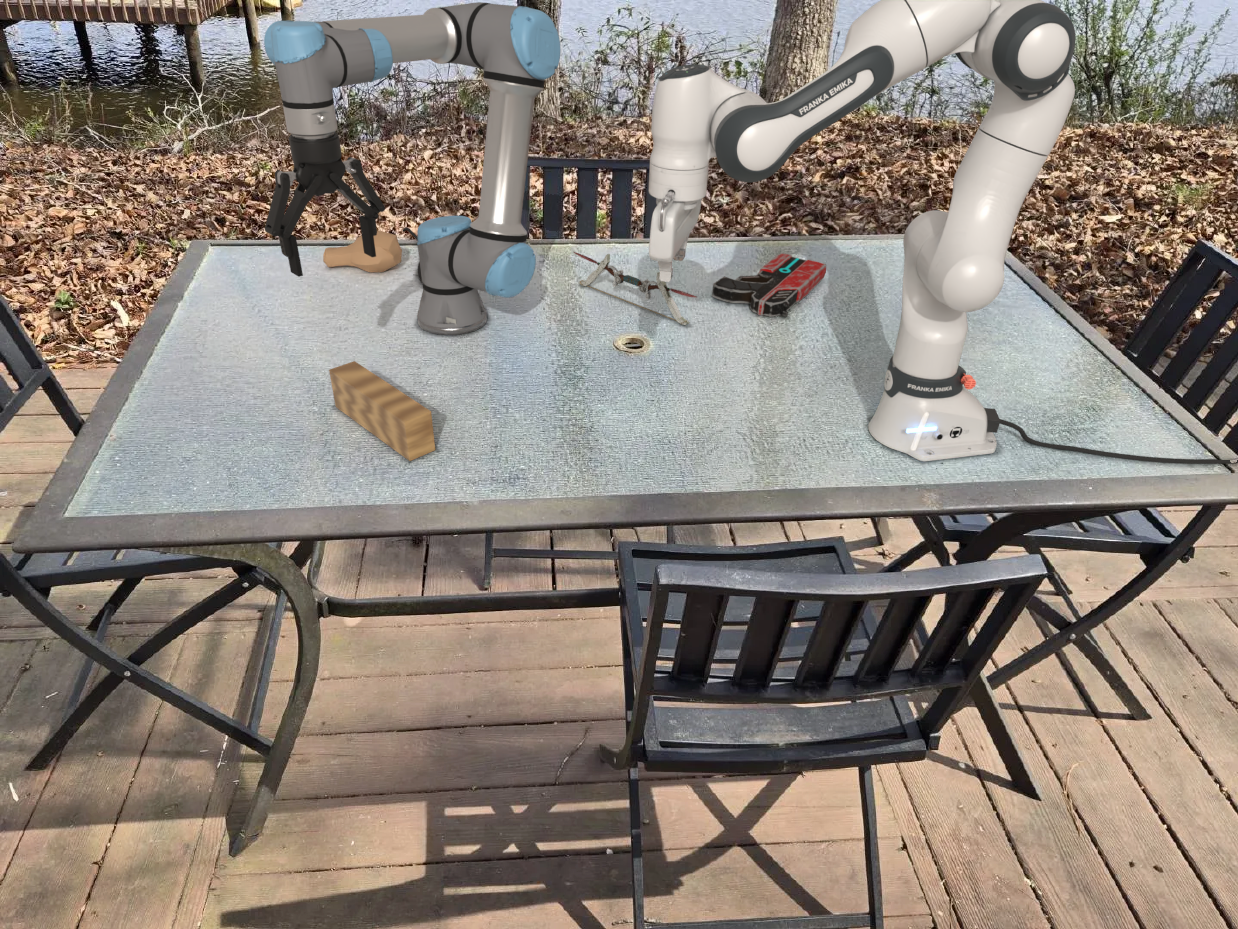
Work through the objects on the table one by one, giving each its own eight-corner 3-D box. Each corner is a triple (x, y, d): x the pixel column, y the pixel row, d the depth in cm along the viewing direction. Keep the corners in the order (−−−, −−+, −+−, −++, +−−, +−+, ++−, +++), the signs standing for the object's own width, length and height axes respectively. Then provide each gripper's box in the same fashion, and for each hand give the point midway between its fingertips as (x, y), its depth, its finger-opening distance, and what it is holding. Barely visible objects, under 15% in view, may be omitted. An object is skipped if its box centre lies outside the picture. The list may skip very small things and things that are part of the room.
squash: (402, 276, 219) (391, 244, 212) (324, 283, 220) (312, 251, 214) (409, 253, 226) (400, 222, 220) (335, 261, 228) (323, 229, 222)
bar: (335, 407, 164) (328, 369, 160) (360, 397, 168) (354, 360, 163) (409, 461, 150) (404, 421, 145) (435, 450, 153) (431, 411, 149)
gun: (708, 284, 207) (784, 305, 199) (760, 245, 229) (831, 262, 221) (706, 302, 209) (781, 323, 201) (758, 261, 231) (828, 278, 223)
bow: (697, 327, 197) (701, 285, 192) (692, 329, 196) (696, 287, 191) (576, 279, 219) (576, 241, 213) (571, 281, 218) (571, 242, 212)
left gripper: (246, 151, 127) (274, 289, 138) (396, 126, 141) (410, 253, 153) (224, 140, 131) (253, 275, 143) (371, 117, 146) (387, 241, 158)
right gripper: (683, 204, 123) (677, 296, 131) (710, 167, 140) (703, 250, 148) (640, 199, 125) (636, 290, 132) (672, 163, 141) (667, 246, 149)
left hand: (334, 264), depth 148 cm, fingers open, 13 cm apart
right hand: (672, 269), depth 140 cm, fingers open, 8 cm apart
